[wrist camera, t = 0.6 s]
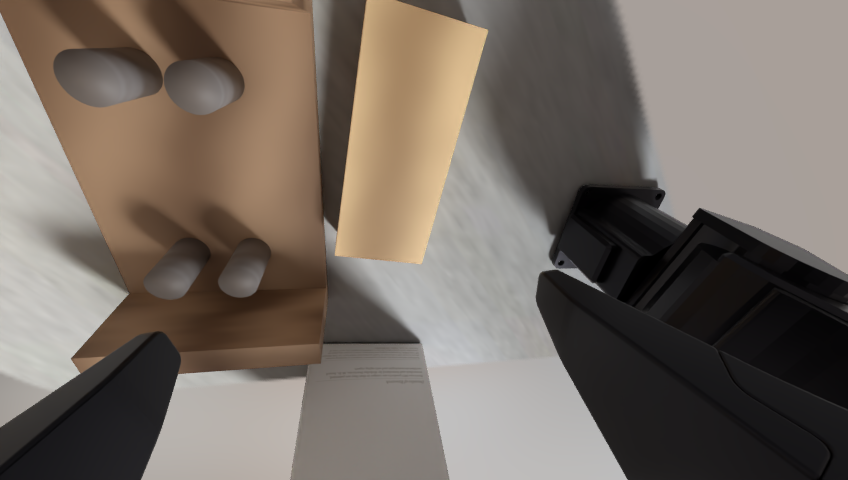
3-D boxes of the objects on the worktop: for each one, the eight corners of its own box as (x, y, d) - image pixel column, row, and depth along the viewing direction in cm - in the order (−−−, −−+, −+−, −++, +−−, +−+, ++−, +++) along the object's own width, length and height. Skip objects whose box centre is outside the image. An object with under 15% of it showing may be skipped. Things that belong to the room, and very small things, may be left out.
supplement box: (308, 340, 24) (257, 660, 12) (423, 340, 26) (483, 609, 14) (306, 411, 29) (267, 698, 16) (404, 406, 31) (437, 655, 18)
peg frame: (310, -32, 13) (286, -69, 9) (328, 298, 22) (320, 363, 18) (-26, -89, 11) (-289, -178, 7) (146, 304, 20) (85, 380, 16)
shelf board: (467, 31, 16) (488, 30, 13) (413, 238, 22) (421, 263, 19) (365, -1, 15) (367, -9, 12) (337, 229, 20) (334, 255, 18)
